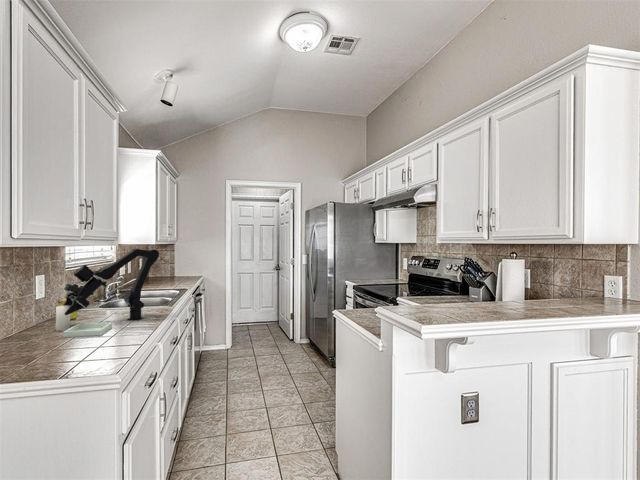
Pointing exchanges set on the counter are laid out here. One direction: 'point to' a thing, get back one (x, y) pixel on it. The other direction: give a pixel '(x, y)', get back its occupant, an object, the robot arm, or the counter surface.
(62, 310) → the canister
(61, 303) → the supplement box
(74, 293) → the robot arm
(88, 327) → the tray
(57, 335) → the counter surface
